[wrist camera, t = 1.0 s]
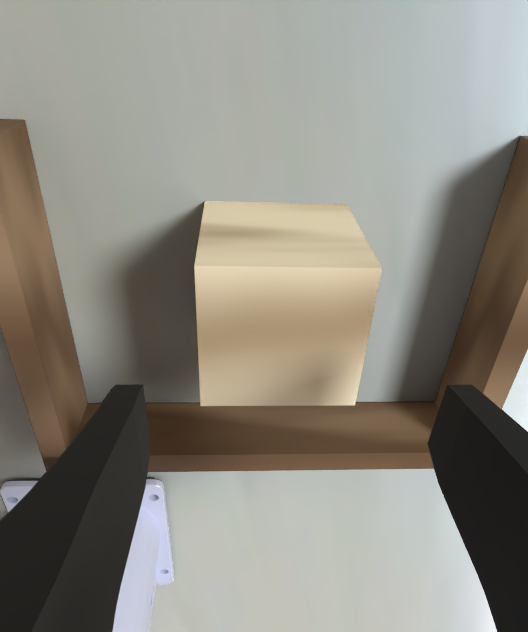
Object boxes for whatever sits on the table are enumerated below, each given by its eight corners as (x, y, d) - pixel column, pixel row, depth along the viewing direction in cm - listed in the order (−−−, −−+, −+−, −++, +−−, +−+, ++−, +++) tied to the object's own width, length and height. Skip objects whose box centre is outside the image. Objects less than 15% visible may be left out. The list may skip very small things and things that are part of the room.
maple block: (329, 320, 20) (355, 405, 15) (208, 319, 19) (200, 406, 15) (346, 203, 17) (382, 268, 13) (205, 200, 17) (194, 265, 12)
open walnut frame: (450, 417, 23) (476, 468, 20) (69, 419, 22) (47, 473, 19) (549, 136, 16) (608, 161, 13) (-9, 118, 15) (-59, 142, 12)
